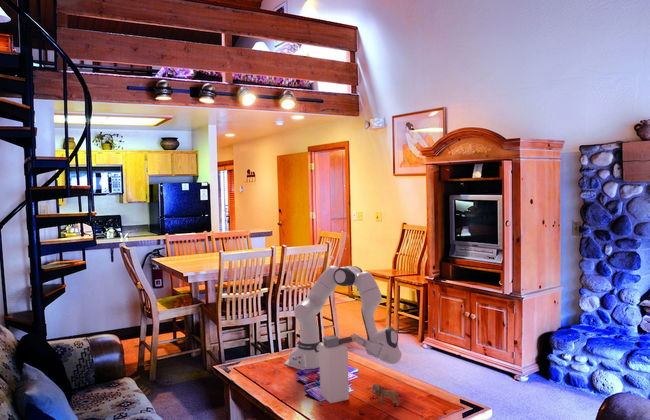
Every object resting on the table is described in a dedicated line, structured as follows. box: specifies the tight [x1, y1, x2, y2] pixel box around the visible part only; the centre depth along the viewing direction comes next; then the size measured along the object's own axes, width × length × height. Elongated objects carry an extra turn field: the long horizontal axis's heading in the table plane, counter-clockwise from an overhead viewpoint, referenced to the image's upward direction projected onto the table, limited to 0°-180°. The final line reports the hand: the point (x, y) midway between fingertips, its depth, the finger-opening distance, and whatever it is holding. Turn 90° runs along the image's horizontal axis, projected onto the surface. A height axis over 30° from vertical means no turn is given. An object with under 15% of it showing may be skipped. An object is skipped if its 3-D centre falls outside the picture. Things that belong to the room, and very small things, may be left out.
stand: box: [319, 342, 350, 404], centre depth 247 cm, size 10×12×26 cm
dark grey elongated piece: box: [322, 334, 360, 348], centre depth 248 cm, size 18×5×4 cm, turn 114°
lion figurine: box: [371, 383, 404, 407], centre depth 238 cm, size 15×5×9 cm, turn 74°
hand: (353, 337), depth 250 cm, fingers closed on dark grey elongated piece, 3 cm apart
